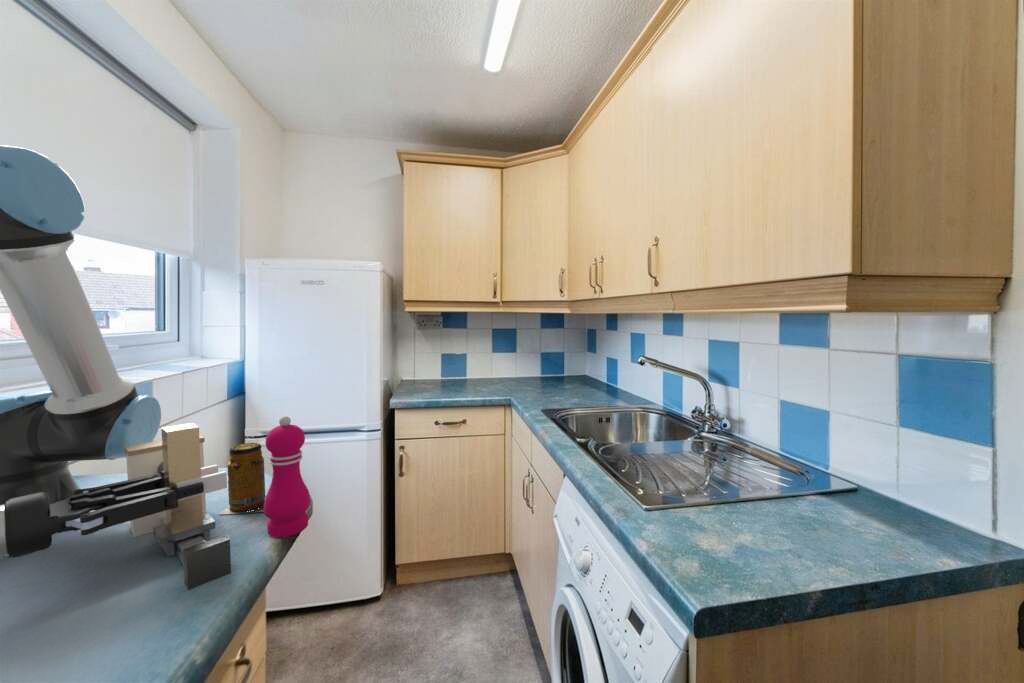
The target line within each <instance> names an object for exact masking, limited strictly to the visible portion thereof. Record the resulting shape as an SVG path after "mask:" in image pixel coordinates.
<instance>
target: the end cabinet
mask: <svg viewBox="0 0 1024 683" xmlns="http://www.w3.org/2000/svg"><path fill="white" fill-rule="evenodd" d="M199 438H200V461H201V468H203V467H205V460H204V459H205V458H204V443H205V437H204V436H202V435H201V434H200V433H199ZM124 451H125V452H126V456H127V458H126V471H127V480H131V479H135V478H140V477H145V476H149V475H154V474H160V476H161V471H164V469H163V449H162V439H158V440H153V441H151V442H146V443H140V444H134V445H128V446H124ZM206 503H207V502H206V494H202V507H203V513H205V512H207V507H206V506H207V505H206ZM165 516H166V511H162V512H159V513H155V514H152V515H148V516H145V517H142V518H138V519H135V520H131V521H129V526H130V528H129V529H130V532H131V533H132V536H133V537H134V538H135V537H138V536H143V535H146V534H149V533H152V532H154V529H153V528H155V527H158V526H161V517H165Z"/></svg>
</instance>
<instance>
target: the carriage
mask: <svg viewBox="0 0 1024 683" xmlns="http://www.w3.org/2000/svg"><path fill="white" fill-rule="evenodd" d="M199 434H200V426H198V425H196V424H195V423H194V422H190V423H184V424H177V425H171V426H170V425H169V426H164V427H161V440H162V449H163V469H164V488H166V487H170V486H176V483H178V482H182V481H186V480H190V479H194V478H198V477H201V461H200V438H199ZM153 529H154V531H153V536H154V538H155V540H156V541H157V544H158V545H159V547H161V548H162V550H163V551H164V553H165V554H166V557H171V556H174V555H175V550H174V542H175V541H178V540H181V539H184V538H187V537H190V536H193V535H196V534H200V535H201V536H202V537H203V538H204V540H205V541H208V540H211V532H210V531H212V530H215V529H216V520H215V519H214V518H213V517H212V516H211V515H210V513H208V512H207V511H206V512H205V513H203V507H202V495H199V496H195V497H191V498H188V499H184V500H180V501H178V507H177V508H175V509H173V508H172V509H169V510H166V524H165V525H161V526H158V527H155V528H153Z"/></svg>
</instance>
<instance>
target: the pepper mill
mask: <svg viewBox="0 0 1024 683" xmlns="http://www.w3.org/2000/svg"><path fill="white" fill-rule="evenodd" d="M291 421H292V420H291V418H290V416H287V415H284V416H281V417H280V418H279V421H278V424H279V425H278V426H275V427H274V428H271V429H270V430H269V431H268V433H267V434H266V438H265V442H264V443H265V447H266V450H268V451H269V452H270V455H269V456H268V458H269V464H270V465H272V479H271V482H270V486H269V489H268V490H267V493H266V494H265V496H266V498H265V501H264V512H263V514H264V515H265V517H267V519H269V520H268V521H267V534H268V535H269V536H270V537H272V538H277V539H278V538H286V537H292V536H294V535H298V534H299V533H301V532H303V531H304V530H305V529H307V528H308V526H309V515H308V514H309V513H307V510H308V509H309V508H310V505H311V495H310V491H309V488H308V487H307V485H306V484H305V481H304V478H302V474H301V468H300V467H301V466H300V465H301V464H300V463H301V461H302V459H303V455H302V454H303V451H302V449H301V448H302V447H303V446H304V444H305V441H306V436H305V432H304V429H302V427H300V426H299V425H295V424H292V423H291Z"/></svg>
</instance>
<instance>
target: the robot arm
mask: <svg viewBox="0 0 1024 683" xmlns="http://www.w3.org/2000/svg"><path fill="white" fill-rule="evenodd" d="M84 202H85V201H84V199H83V196H82V194H81V192H80V189H79V188H78V186H77V185H76V183H75V181H74V180H73V179H72V177H71V175H69V173H68V172H66V171H65V170H64V168H62V166H60V165H59V164H58V163H55V162H53V161H52V160H51V159H50V158H49V157H47V156H46V155H44V154H41V153H40V152H37V151H35V150H32V149H29V148H26V147H25V148H24V147H21V146H20V147H18V146H10V145H4V144H3V145H2V144H0V293H1V295H2V297H3V299H4V301H5V302H6V305H7V306H8V309H9V311H10V313H11V315H12V317H13V318H14V321H15V322H16V324H17V326H18V329H19V330H20V332H21V334H22V336H23V339H24V341H25V342H26V344H27V346H28V348H29V350H30V353H31V355H32V356H33V358H34V360H35V362H36V364H37V366H38V368H39V370H40V372H41V374H42V376H43V378H44V380H45V382H46V384H47V385H48V388H49V390H43V391H41V390H40V391H35V392H29V393H22V394H21V393H20V394H16V395H8V396H3V397H0V561H1V560H2V557H6V556H8V558H9V559H11V558H12V559H17V558H21V557H24V556H28V555H30V554H31V555H32V554H34V553H38V552H41V551H46V550H47V549H49V548H50V547H51V546H52V544H53V537H52V536H53V535H56V534H61V533H65V532H66V533H67V532H71V531H73V532H75V531H76V532H77V531H80V536H88V535H92V534H94V533H96V532H100V531H101V530H104V529H106V528H110V527H114V526H117V525H120V524H121V525H122V524H123V523H126V522H127V523H128V522H130V521H131V520H135V519H138V518H142V517H145V516H148V515H152V514H155V513H159V512H162V511H166V510H169V509H172V508H173V509H175V508H177V507H178V501H180V500H184V499H188V498H191V497H195V496H199V495H202V494H205V495H206V494H210V493H213V492H217V491H221V490H224V489H228V473H227V471H226V470H223V471H220V472H219V465H218V464H212V465H209V466H204V467H203V468H201V477H198V478H194V479H190V480H186V481H182V482H178V483H176V486H170V487H166V488H164V471H161V476H160V474H154V475H149V476H145V477H140V478H135V479H131V480H128V479H127V480H123V481H118V482H117V481H116V482H113V483H109V484H104V485H99V486H96V487H88V488H81V487H80V486H79V484H78V482H77V481H76V479H75V477H74V475H73V474H72V472H71V470H70V467H69V462H78V461H79V462H81V461H84V462H85V461H99V460H103V461H104V460H105V461H106V460H107V461H114V460H117V459H127V456H126V452H125V451H124V446H128V445H134V444H140V443H146V442H151V441H155V438H156V436H157V434H158V432H159V428H160V425H161V420H162V409H161V405H160V402H159V400H158V399H157V398H156V397H154V396H151V395H148V394H139V393H138V392H137V389H136V387H135V384H134V382H133V381H132V380H131V379H130V378H127V377H125V376H120V375H119V374H118V371H117V368H116V366H115V363H114V361H113V359H112V356H111V354H110V352H109V349H108V347H107V344H106V341H105V339H104V336H103V334H102V332H101V329H100V327H99V325H98V322H97V320H96V318H95V315H94V313H93V310H92V307H91V306H90V302H89V301H88V300H89V299H88V298H87V296H86V293H85V290H84V289H83V286H82V284H81V281H80V279H79V275H78V274H77V271H76V269H75V267H74V264H73V261H72V259H71V257H70V254H69V252H68V249H69V247H70V246H72V244H73V243H74V242H75V241H76V239H77V238H76V236H75V233H74V231H75V230H77V229H78V228H79V227H80V226H81V225H82V224H83V222H84V219H85V217H84V215H83V213H84V212H85V203H84Z"/></svg>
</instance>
